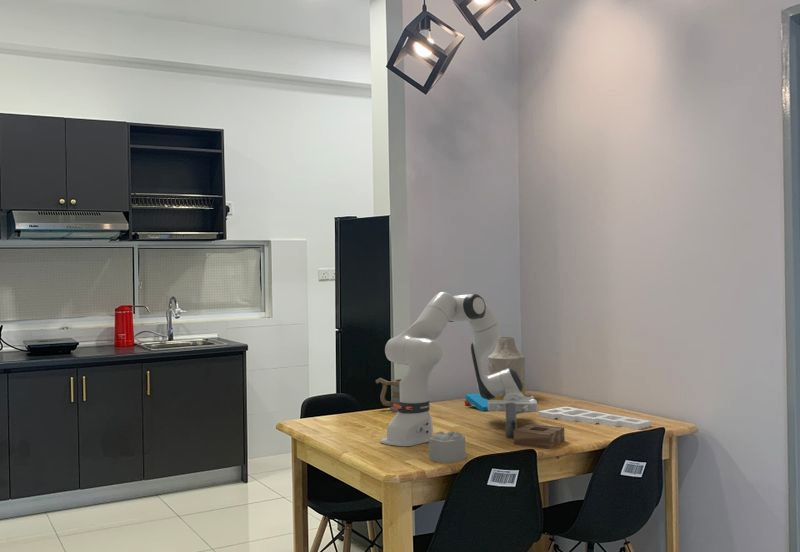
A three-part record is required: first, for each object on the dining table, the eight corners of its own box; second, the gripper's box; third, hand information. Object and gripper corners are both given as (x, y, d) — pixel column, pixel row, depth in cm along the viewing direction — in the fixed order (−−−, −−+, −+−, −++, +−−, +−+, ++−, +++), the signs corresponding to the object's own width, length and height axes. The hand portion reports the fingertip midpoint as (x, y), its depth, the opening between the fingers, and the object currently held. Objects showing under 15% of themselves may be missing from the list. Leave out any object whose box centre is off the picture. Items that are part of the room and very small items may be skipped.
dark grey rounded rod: (513, 438, 285) (513, 404, 285) (504, 437, 287) (503, 403, 287) (518, 436, 288) (517, 403, 288) (508, 435, 290) (508, 402, 290)
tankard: (420, 408, 353) (420, 376, 353) (414, 413, 341) (413, 380, 341) (380, 406, 359) (379, 375, 359) (372, 411, 347) (371, 379, 347)
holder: (651, 427, 302) (651, 421, 302) (623, 434, 291) (623, 427, 291) (565, 412, 338) (565, 406, 338) (538, 417, 327) (537, 411, 327)
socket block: (549, 448, 268) (549, 434, 268) (513, 444, 276) (513, 430, 276) (564, 440, 279) (564, 427, 279) (530, 436, 287) (529, 423, 287)
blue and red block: (493, 419, 346) (471, 403, 362) (495, 405, 345) (473, 390, 360) (480, 421, 343) (459, 404, 358) (482, 407, 341) (461, 391, 356)
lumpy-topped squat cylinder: (425, 458, 257) (424, 433, 257) (451, 452, 266) (450, 427, 266) (446, 464, 250) (446, 438, 250) (473, 457, 258) (472, 432, 258)
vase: (505, 393, 390) (504, 335, 390) (532, 397, 376) (531, 336, 376) (481, 397, 378) (479, 337, 378) (508, 402, 364) (507, 339, 364)
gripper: (488, 395, 315) (485, 401, 301) (537, 396, 311) (537, 402, 297) (488, 410, 315) (485, 416, 301) (537, 411, 311) (537, 417, 297)
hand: (511, 409), depth 299 cm, fingers open, 8 cm apart
